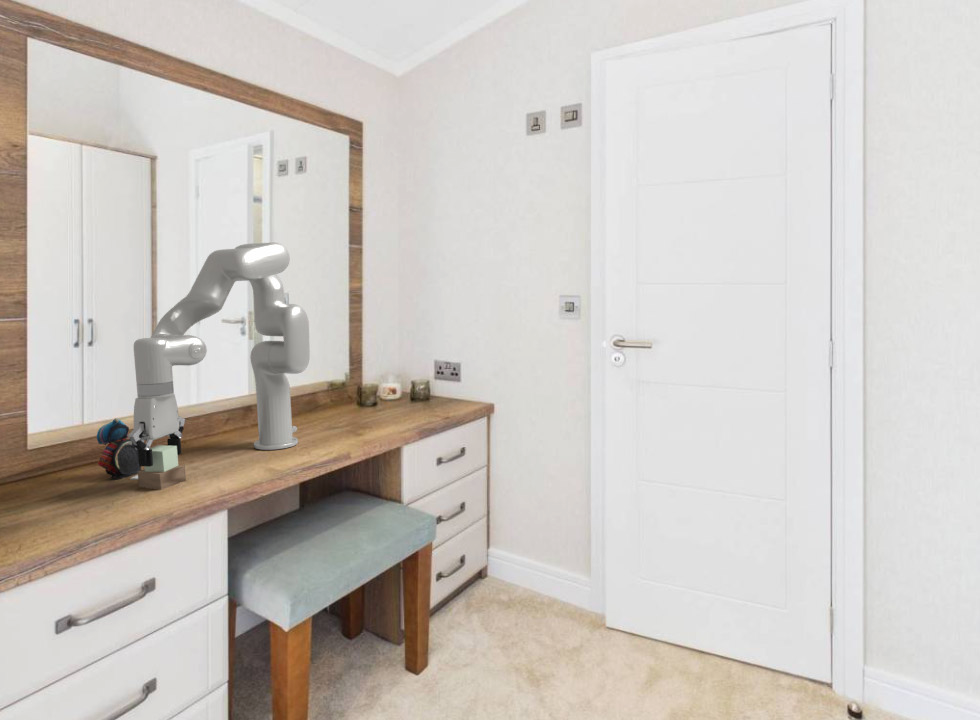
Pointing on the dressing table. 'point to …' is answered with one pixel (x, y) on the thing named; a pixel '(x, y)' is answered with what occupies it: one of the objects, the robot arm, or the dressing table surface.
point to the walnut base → (161, 478)
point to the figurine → (118, 451)
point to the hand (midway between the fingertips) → (161, 460)
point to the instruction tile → (135, 477)
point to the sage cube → (163, 458)
